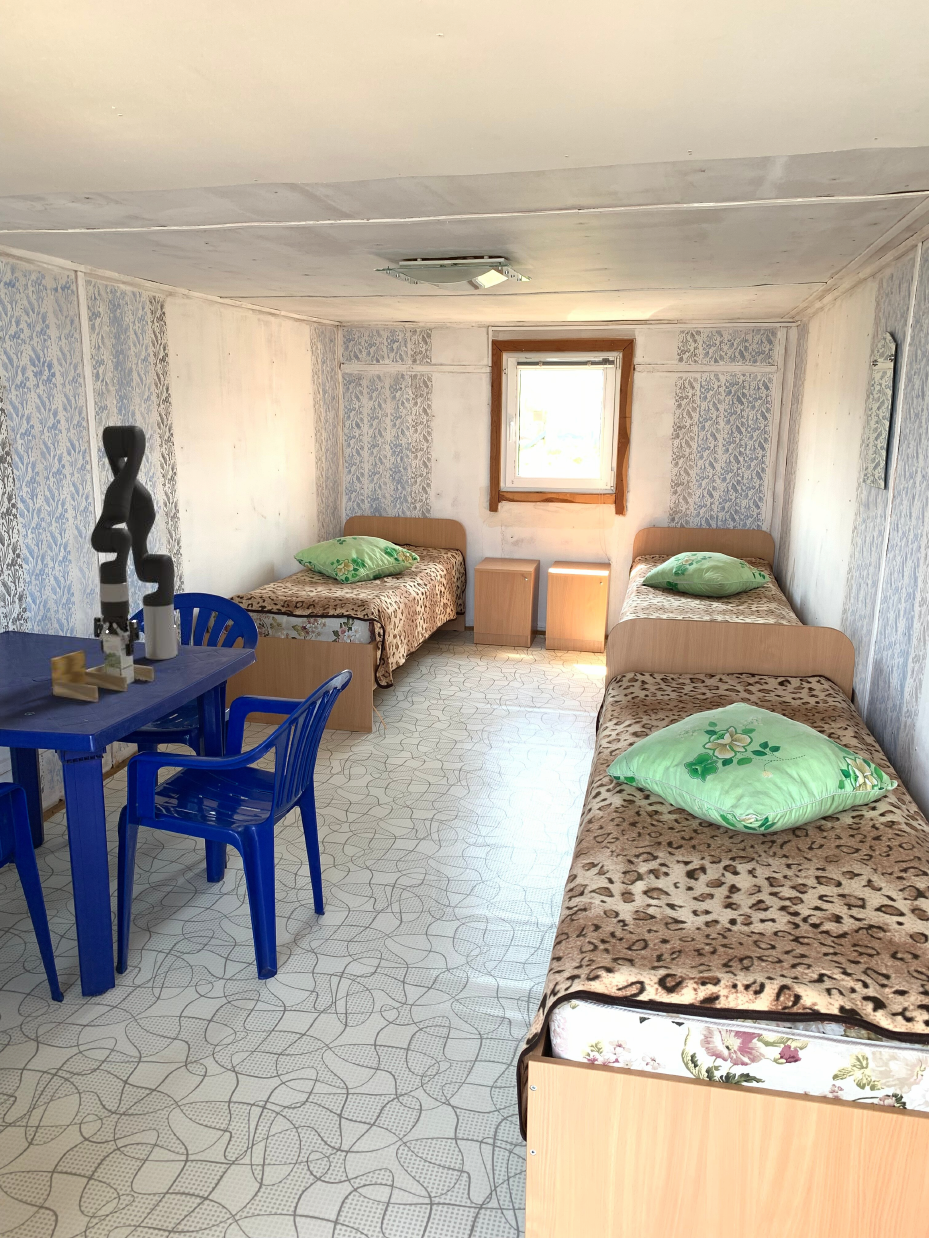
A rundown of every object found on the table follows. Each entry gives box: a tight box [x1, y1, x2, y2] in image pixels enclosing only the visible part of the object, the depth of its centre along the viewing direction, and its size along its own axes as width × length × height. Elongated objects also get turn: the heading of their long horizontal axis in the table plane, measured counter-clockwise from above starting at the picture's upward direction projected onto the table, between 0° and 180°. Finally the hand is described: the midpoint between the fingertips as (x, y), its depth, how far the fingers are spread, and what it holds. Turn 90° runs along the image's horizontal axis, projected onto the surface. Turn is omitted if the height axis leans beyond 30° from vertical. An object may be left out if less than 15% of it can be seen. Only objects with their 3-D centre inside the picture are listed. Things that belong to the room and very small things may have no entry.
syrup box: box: [103, 633, 135, 685], centre depth 254 cm, size 6×6×14 cm
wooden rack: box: [50, 650, 155, 703], centre depth 249 cm, size 23×15×10 cm, turn 159°
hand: (117, 654), depth 253 cm, fingers open, 8 cm apart
